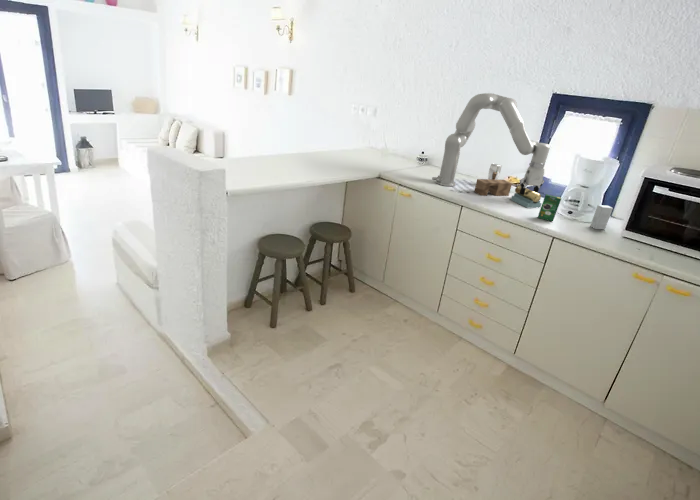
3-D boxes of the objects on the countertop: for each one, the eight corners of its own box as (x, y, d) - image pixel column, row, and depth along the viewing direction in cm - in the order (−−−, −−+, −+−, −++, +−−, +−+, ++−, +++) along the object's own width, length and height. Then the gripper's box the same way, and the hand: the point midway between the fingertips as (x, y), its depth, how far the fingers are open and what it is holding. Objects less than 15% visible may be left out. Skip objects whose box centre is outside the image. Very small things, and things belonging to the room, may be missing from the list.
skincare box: (599, 226, 219) (608, 205, 214) (604, 229, 215) (613, 208, 210) (589, 225, 218) (597, 204, 213) (594, 229, 214) (603, 207, 209)
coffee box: (553, 220, 219) (561, 197, 214) (553, 222, 217) (561, 198, 211) (537, 216, 222) (545, 193, 217) (537, 218, 220) (544, 194, 214)
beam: (481, 195, 248) (485, 183, 244) (474, 191, 254) (477, 179, 251) (508, 195, 255) (512, 183, 251) (500, 191, 261) (503, 179, 258)
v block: (526, 207, 236) (528, 201, 234) (510, 199, 247) (512, 193, 246) (540, 207, 239) (542, 201, 237) (523, 199, 251) (525, 193, 249)
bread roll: (539, 202, 236) (542, 194, 234) (532, 202, 234) (535, 193, 232) (520, 193, 250) (523, 185, 248) (513, 193, 248) (516, 185, 246)
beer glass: (496, 189, 265) (502, 166, 259) (485, 188, 266) (491, 165, 260) (495, 187, 271) (501, 164, 265) (484, 185, 272) (490, 163, 266)
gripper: (529, 166, 227) (520, 196, 235) (553, 167, 233) (544, 196, 241) (520, 163, 234) (512, 192, 241) (544, 164, 240) (535, 192, 247)
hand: (528, 194), depth 241 cm, fingers open, 9 cm apart
